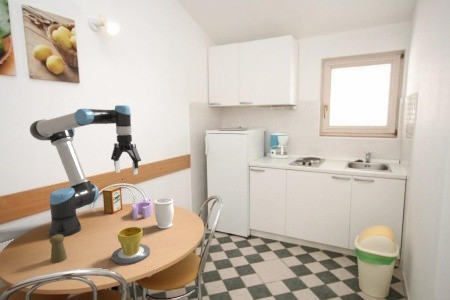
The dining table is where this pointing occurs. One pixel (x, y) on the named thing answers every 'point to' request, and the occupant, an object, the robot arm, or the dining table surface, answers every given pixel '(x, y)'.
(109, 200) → the baking soda box
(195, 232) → the dining table surface
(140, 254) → the base
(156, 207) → the jar
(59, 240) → the cork
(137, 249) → the plant pot
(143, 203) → the clip
